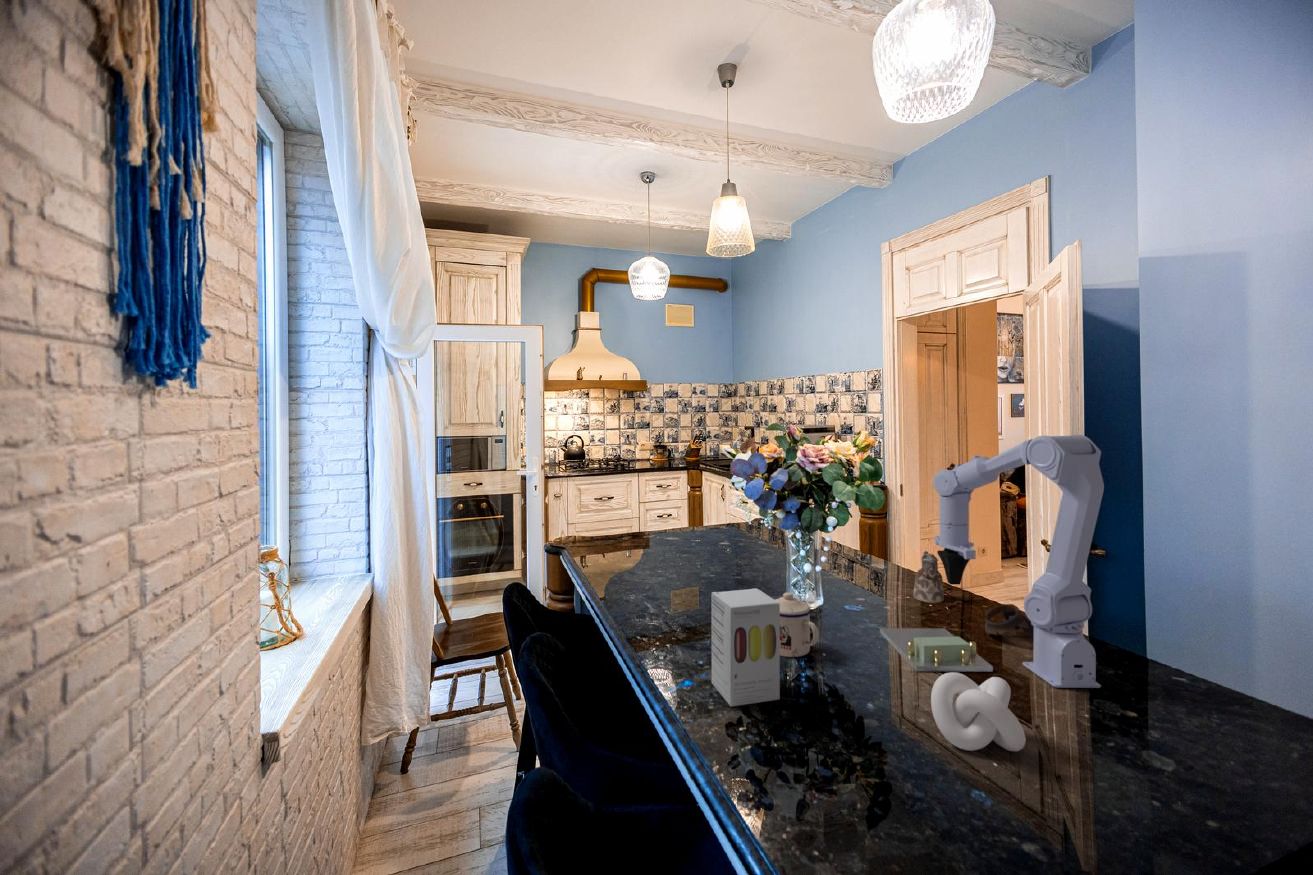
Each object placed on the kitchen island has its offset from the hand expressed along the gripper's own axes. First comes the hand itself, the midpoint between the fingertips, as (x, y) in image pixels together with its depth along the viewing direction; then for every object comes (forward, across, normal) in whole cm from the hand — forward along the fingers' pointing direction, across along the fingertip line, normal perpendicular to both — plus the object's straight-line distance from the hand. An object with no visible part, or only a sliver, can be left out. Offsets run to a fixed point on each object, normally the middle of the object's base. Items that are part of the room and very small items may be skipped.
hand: (953, 583), depth 124 cm
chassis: (+10, -12, +10) cm, 18 cm away
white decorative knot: (+11, -43, +17) cm, 47 cm away
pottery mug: (+11, -4, -10) cm, 15 cm away
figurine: (+11, +22, -4) cm, 25 cm away
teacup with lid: (+11, -12, +38) cm, 41 cm away
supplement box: (+11, -29, +50) cm, 59 cm away
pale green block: (+9, -16, +10) cm, 22 cm away
